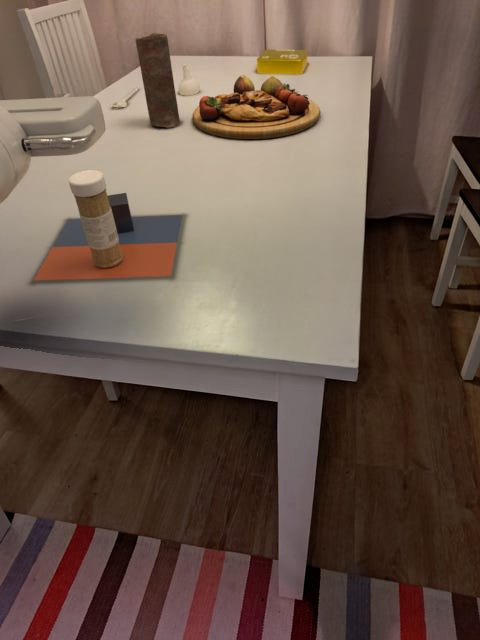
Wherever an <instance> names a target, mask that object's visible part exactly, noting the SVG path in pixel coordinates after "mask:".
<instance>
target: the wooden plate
mask: <svg viewBox="0 0 480 640" xmlns="http://www.w3.org/2000/svg"><path fill="white" fill-rule="evenodd" d="M290 87H291V86H290V84H289V83H287V84H286V83H285V82H284V83H282V81H281V80H280V79H279V78H277V77H275V75H272V76H270V77H268V78H267V79H266V80H265V81H263V83H262V84H261V86H260V89H255V85H254V83H253V81H252V79H251V78H249V77H248V76H246V75H244V74H242V75H239V76H238V78H236V81H234V85H233V92H232V93H229V94H223V93H222V94H218V95H215V97H214V96H209V95H203V96H202V97H201V98H200V99H199V104H198V106H196V107H195V109H194V111H193V113H192V122H193V123H194V125H195V126H196V127H197V128H198V129H199V130H200V131H202V132H205V133H207V134H210V135H213V136H216V137H222V138H227V139H238V140H239V139H240V140H261V139H263V140H264V139H273V138H279V137H285V136H290V135H293V134H297V133H300V132H302V131H304V130H306V129H309V128H310V127H312V126H314V125H315V124H316V123H317V122H318V121H319V119H320V116H321V109H320V106H319V105H318V104H317V103H316V102H315V101H313V100H312V99H310V98H309V97H308V96H309V95H308V94H300V93H299V92H298V91H297V90H296V89H295V88H292V89H291V88H290Z"/></svg>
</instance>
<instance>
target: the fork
mask: <svg viewBox="0 0 480 640" xmlns="http://www.w3.org/2000/svg"><path fill="white" fill-rule="evenodd" d="M138 90H139V88H138V87H135V88H134V89H132V90H131V91H130V92H129V93H127V94H126V95H125V96H124V97H122V98H121V99H120V100H119V101H118V102H117V103H116V104H114V103H113V104H110V106H111V107H112V108H125V107H126V106H127V105H128V103H127V100H129V99H130V98H131V97H132V96H133V95H134V94H135V93H136V92H137V91H138Z"/></svg>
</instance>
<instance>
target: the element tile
mask: <svg viewBox="0 0 480 640" xmlns="http://www.w3.org/2000/svg"><path fill="white" fill-rule="evenodd" d="M308 54H309V53H308V50H307V49H288V48H287V49H265V50H263V51H262V52H261V54H259V56H257V58H256V73H257V74H260V75H301V74H303V73H304V71H305V69H306V67H307V66H308Z"/></svg>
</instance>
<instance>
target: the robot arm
mask: <svg viewBox="0 0 480 640" xmlns="http://www.w3.org/2000/svg"><path fill="white" fill-rule="evenodd" d="M105 132H106V121H105V116H104V112H103V108H102V103H101V102H100V100H99V99H98V98H96V97H94V96H91V95H83V96H73V94H72V93H58V94H56V95H55V96H54V97H42V98H22V99H21V98H20V99H18V98H17V99H1V100H0V204H2V203H3V202H5V200H6V199H7V198H9V196H10V195H11V193H12V192H13V191H14V189H15V188H17V186H18V185H19V184H20V183H21V181H22V179H24V177H25V176H26V174H27V173H28V171H29V169H30V167H31V161H32V158H37V157H61V156H63V157H64V156H74V155H78V154H82V153H84V152H86V151H88V150H89V149H90V148H92V147H93V146H95V144H96V143H97V142H99V140H100V139H101V138H102V136H104V134H105Z"/></svg>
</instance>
